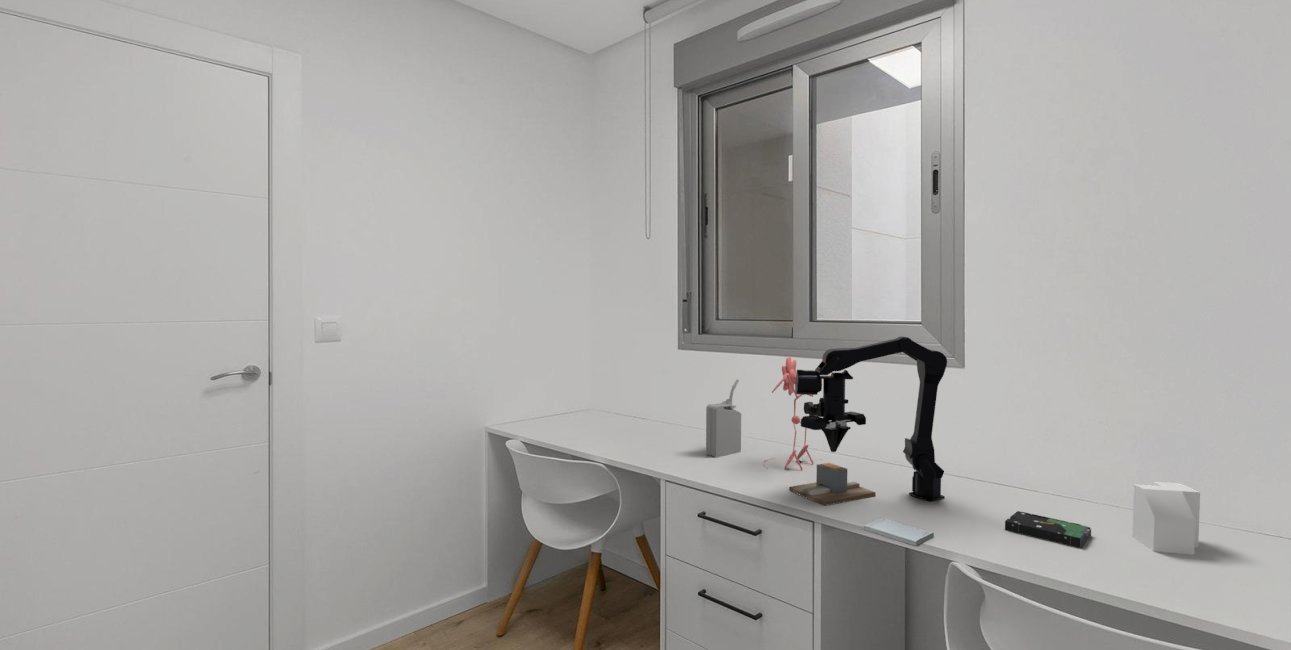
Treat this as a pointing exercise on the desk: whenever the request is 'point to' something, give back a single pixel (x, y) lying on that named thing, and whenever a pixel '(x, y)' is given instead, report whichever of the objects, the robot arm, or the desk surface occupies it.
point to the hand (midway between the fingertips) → (833, 451)
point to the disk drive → (1048, 529)
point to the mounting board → (826, 497)
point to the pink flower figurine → (789, 382)
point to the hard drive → (898, 531)
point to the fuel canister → (723, 428)
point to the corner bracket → (1166, 517)
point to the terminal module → (832, 477)
